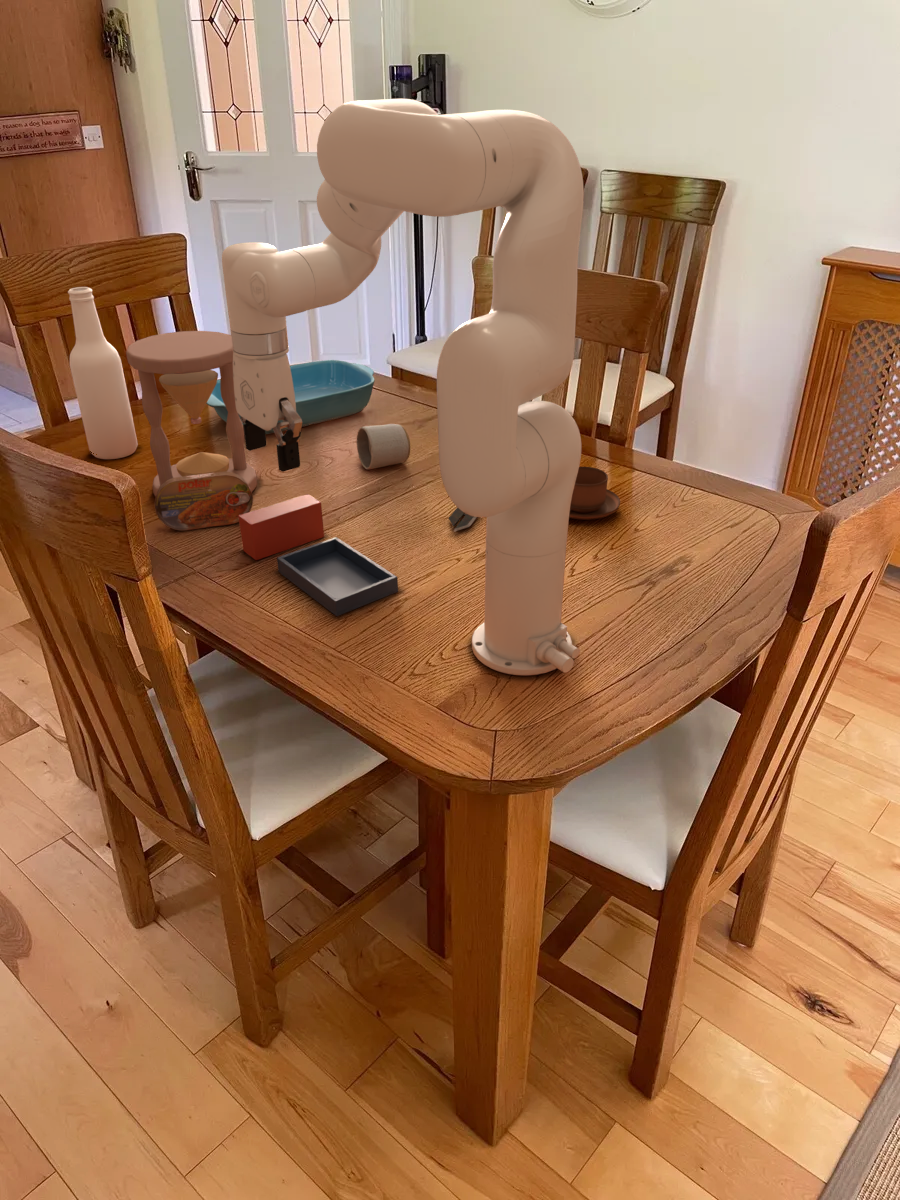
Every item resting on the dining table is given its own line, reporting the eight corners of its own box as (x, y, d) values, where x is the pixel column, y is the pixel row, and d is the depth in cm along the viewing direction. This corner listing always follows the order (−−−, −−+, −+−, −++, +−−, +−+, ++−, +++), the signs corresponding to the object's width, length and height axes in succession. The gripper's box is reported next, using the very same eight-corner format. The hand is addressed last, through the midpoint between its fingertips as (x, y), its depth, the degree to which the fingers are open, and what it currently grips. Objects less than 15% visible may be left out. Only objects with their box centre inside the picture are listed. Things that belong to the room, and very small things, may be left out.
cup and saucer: (554, 491, 153) (556, 457, 149) (624, 499, 150) (627, 465, 146) (538, 520, 143) (540, 485, 140) (613, 530, 140) (616, 494, 137)
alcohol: (124, 461, 165) (89, 295, 149) (81, 458, 167) (42, 293, 151) (146, 444, 173) (115, 284, 157) (105, 441, 174) (69, 282, 158)
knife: (462, 537, 138) (462, 529, 138) (425, 529, 141) (425, 521, 140) (522, 477, 158) (522, 470, 157) (488, 471, 160) (488, 464, 159)
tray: (398, 591, 124) (397, 576, 123) (336, 616, 119) (335, 601, 118) (337, 550, 135) (336, 536, 133) (278, 571, 129) (276, 557, 128)
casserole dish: (229, 449, 170) (223, 413, 166) (191, 415, 186) (185, 382, 183) (396, 412, 187) (394, 379, 183) (348, 385, 203) (346, 353, 199)
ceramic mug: (413, 467, 162) (412, 426, 158) (372, 475, 159) (370, 434, 155) (389, 448, 170) (387, 409, 166) (350, 456, 167) (347, 417, 163)
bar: (324, 537, 139) (321, 502, 136) (255, 560, 132) (250, 524, 129) (311, 528, 141) (307, 493, 138) (243, 550, 135) (237, 515, 132)
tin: (159, 533, 140) (149, 484, 136) (159, 525, 143) (150, 476, 138) (256, 522, 143) (249, 473, 139) (254, 513, 146) (248, 466, 142)
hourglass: (249, 462, 164) (230, 326, 151) (265, 500, 150) (247, 353, 137) (150, 476, 159) (122, 336, 146) (158, 516, 145) (128, 365, 132)
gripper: (206, 332, 124) (222, 446, 133) (266, 361, 113) (279, 484, 122) (254, 323, 128) (266, 435, 137) (317, 350, 117) (326, 470, 126)
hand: (272, 458), depth 130 cm, fingers open, 9 cm apart
